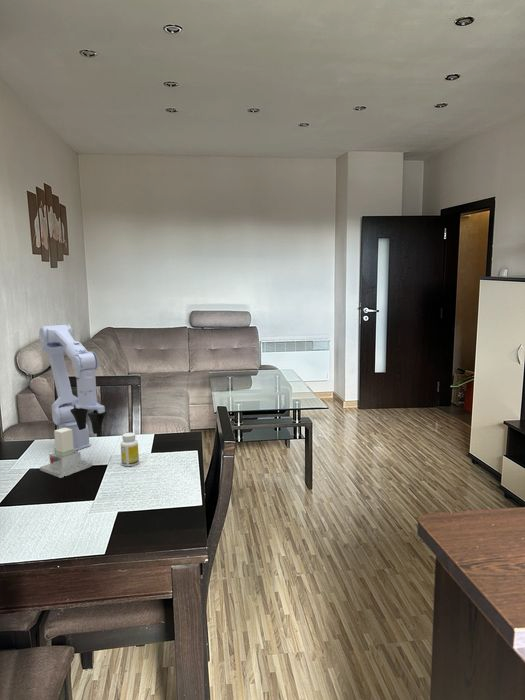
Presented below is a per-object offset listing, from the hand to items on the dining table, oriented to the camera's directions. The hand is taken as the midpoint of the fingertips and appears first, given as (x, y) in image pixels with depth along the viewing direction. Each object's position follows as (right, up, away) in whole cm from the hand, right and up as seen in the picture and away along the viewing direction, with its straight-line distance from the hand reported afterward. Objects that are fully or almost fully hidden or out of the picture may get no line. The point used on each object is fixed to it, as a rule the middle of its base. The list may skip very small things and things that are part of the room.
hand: (89, 431), depth 160 cm
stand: (-6, -11, -4) cm, 13 cm away
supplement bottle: (+13, -11, 0) cm, 17 cm away
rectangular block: (-6, -7, -4) cm, 10 cm away
